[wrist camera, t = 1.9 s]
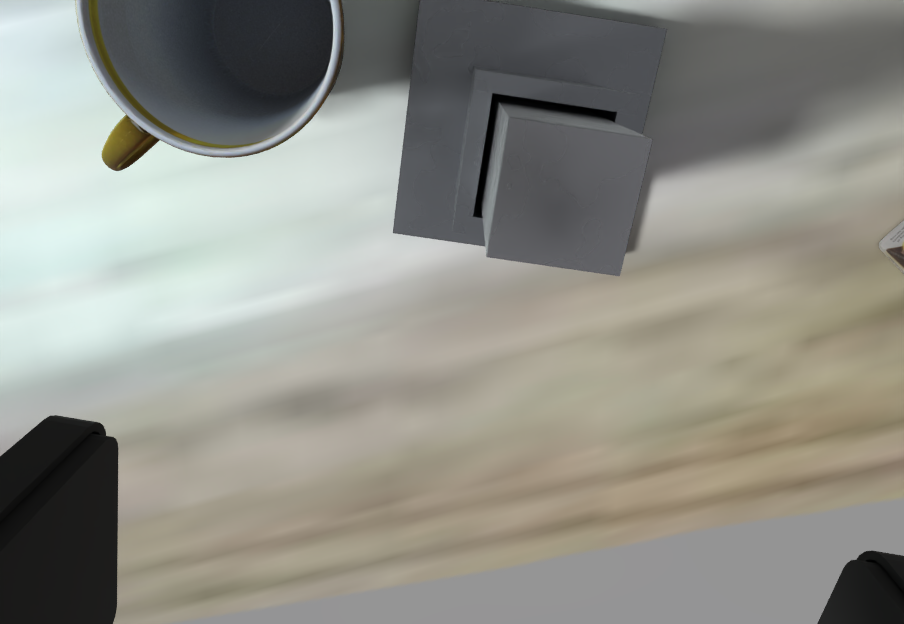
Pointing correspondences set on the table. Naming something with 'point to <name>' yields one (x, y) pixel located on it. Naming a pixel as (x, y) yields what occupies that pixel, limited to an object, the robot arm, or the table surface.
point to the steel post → (559, 185)
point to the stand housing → (509, 73)
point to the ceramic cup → (211, 71)
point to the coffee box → (894, 246)
